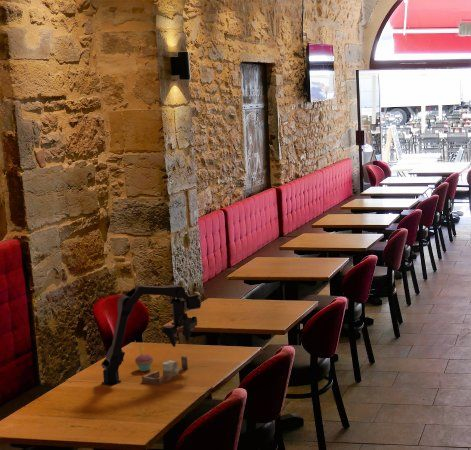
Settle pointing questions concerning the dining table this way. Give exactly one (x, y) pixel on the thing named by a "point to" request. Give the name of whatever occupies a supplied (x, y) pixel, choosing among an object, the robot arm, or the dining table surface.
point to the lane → (152, 377)
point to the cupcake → (143, 361)
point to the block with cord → (174, 366)
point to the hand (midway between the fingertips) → (180, 344)
